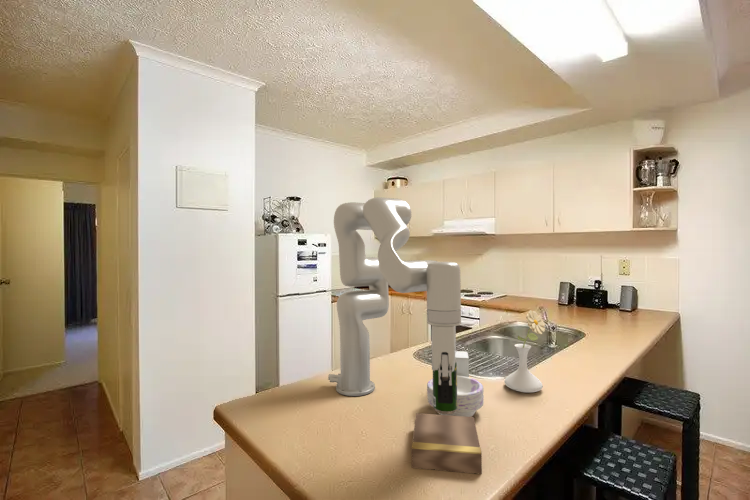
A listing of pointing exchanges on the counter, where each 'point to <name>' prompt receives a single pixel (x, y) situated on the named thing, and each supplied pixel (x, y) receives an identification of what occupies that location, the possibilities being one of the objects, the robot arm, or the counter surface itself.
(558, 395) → the counter surface
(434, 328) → the robot arm
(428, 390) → the paper bowls
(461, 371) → the supplement box
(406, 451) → the counter surface
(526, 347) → the flower in vase
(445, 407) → the beer can
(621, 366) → the counter surface
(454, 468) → the gold striped gift box
